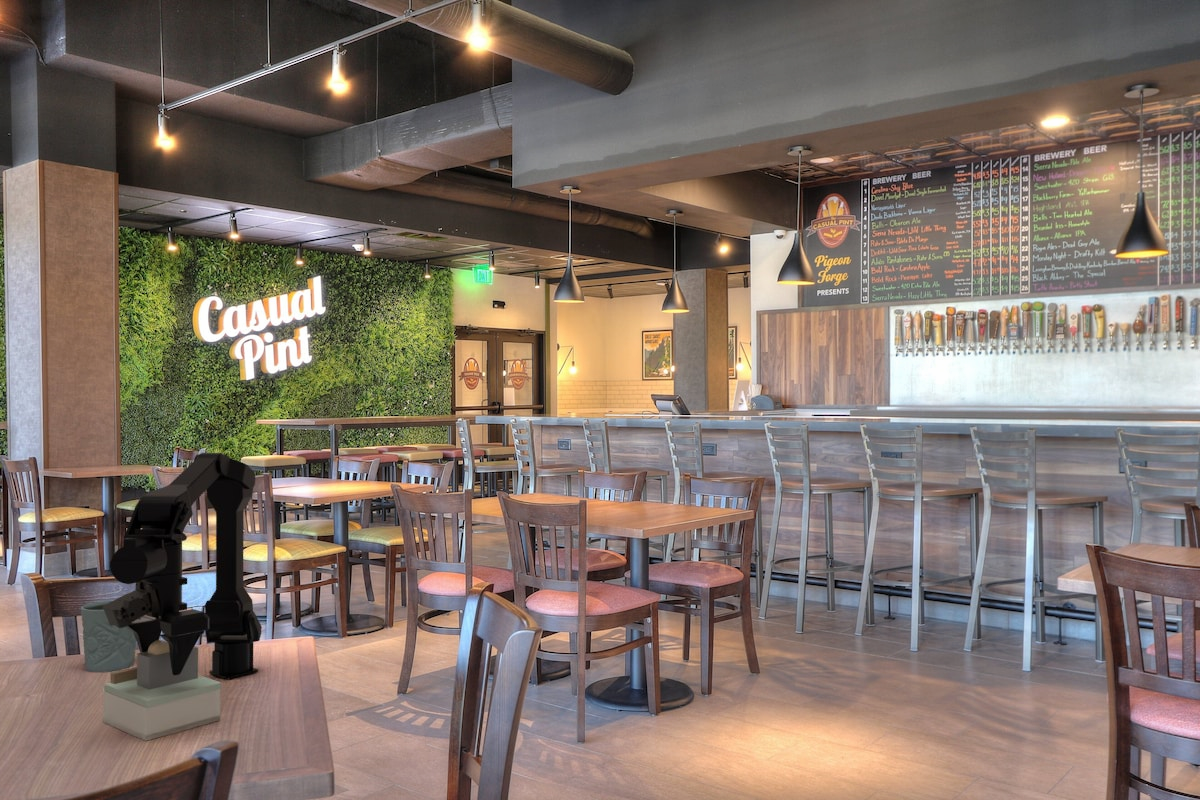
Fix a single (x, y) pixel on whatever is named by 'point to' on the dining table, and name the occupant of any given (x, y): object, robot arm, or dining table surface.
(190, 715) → the box
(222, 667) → the robot arm
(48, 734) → the dining table surface
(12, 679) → the dining table surface
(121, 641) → the grey-green cup
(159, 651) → the tape dispenser
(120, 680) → the lid
